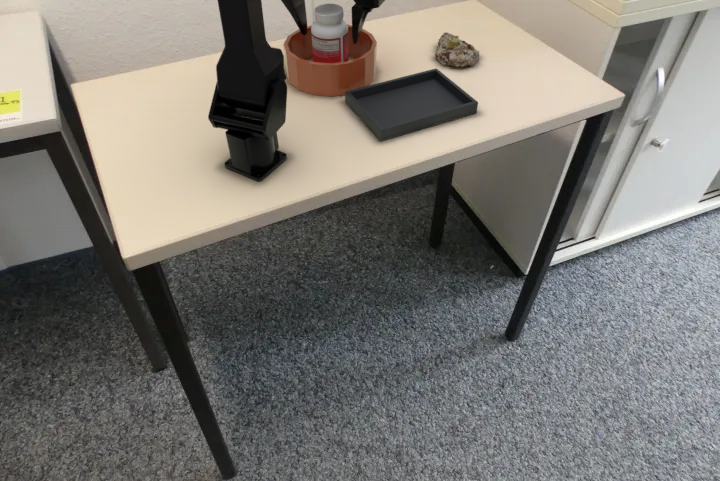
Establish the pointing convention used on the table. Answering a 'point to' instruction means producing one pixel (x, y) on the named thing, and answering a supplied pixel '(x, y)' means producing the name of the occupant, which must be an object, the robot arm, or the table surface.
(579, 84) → the table surface
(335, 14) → the pill bottle
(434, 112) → the tray
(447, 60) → the mineral rock
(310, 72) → the pot
